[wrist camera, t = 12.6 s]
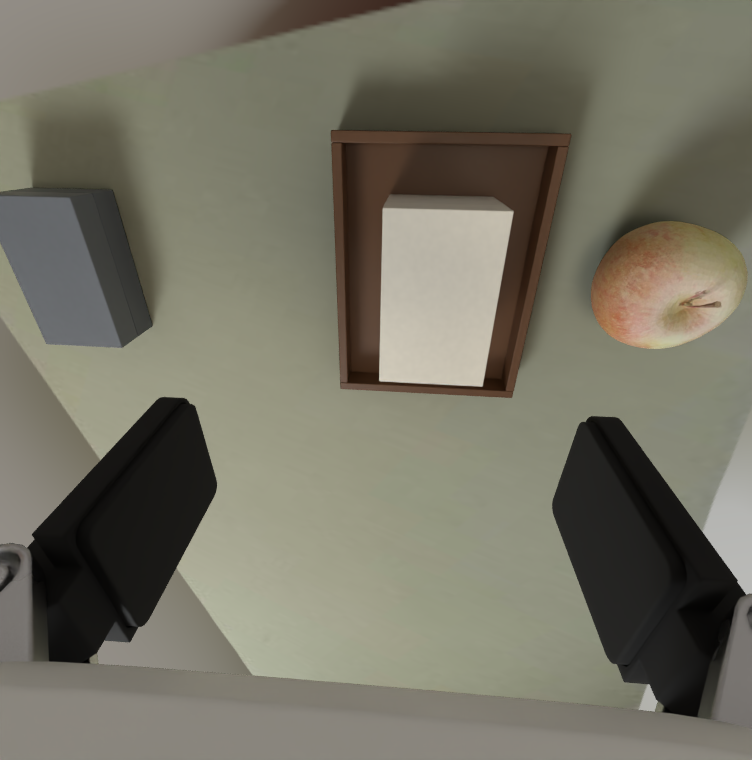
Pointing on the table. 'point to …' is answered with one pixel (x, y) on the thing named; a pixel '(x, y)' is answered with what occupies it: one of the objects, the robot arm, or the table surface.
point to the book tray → (448, 178)
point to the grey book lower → (116, 251)
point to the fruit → (667, 284)
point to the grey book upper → (65, 268)
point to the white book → (440, 290)
